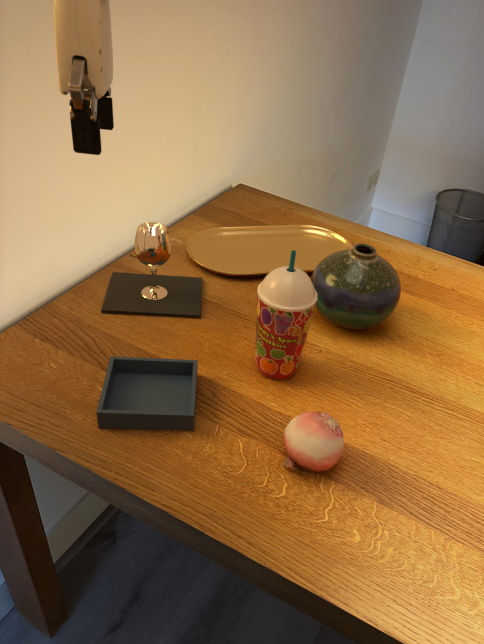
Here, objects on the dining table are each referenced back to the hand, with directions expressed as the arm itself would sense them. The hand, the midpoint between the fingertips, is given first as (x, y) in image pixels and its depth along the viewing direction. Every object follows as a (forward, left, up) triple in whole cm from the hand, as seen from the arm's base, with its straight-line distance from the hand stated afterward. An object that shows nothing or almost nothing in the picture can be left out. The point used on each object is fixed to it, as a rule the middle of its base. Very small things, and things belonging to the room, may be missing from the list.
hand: (95, 140), depth 70 cm
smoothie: (+26, -11, -28) cm, 40 cm away
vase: (+40, +4, -28) cm, 49 cm away
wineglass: (+6, +7, -28) cm, 29 cm away
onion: (+29, -29, -28) cm, 50 cm away
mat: (+6, +7, -28) cm, 30 cm away
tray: (+8, -19, -28) cm, 35 cm away
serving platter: (+28, +25, -28) cm, 47 cm away
